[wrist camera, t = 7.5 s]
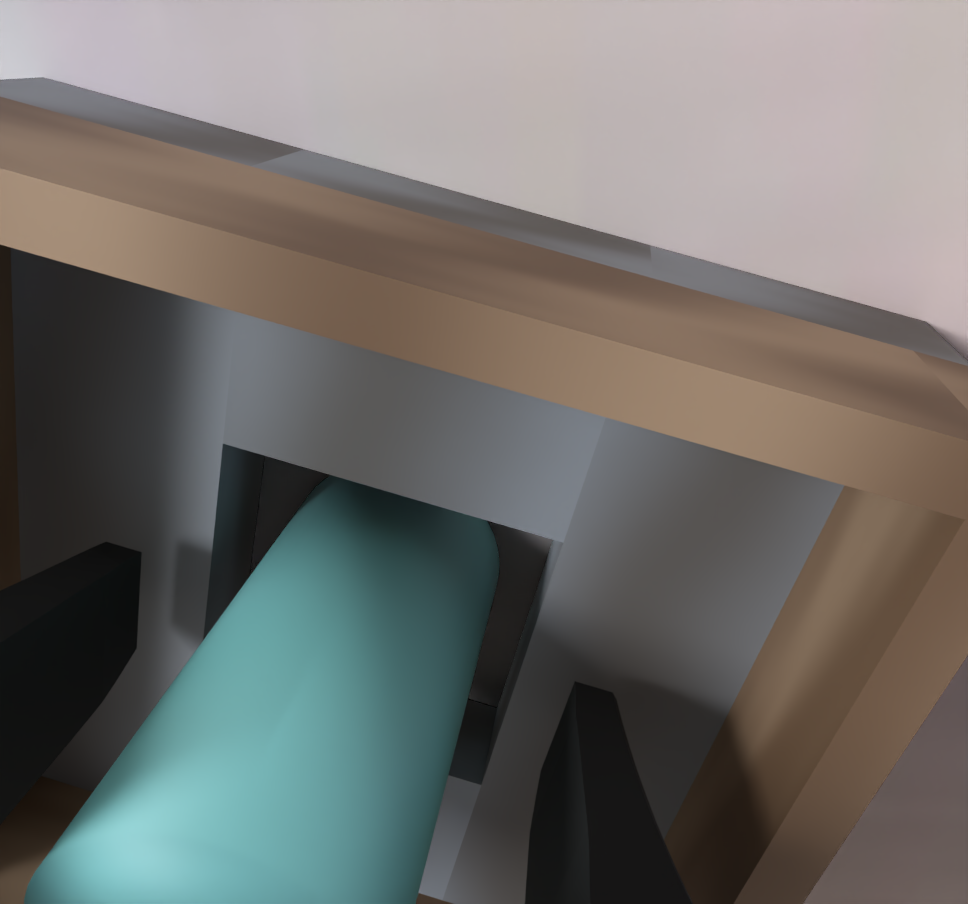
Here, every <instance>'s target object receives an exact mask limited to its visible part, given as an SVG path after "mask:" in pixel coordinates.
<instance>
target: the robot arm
mask: <svg viewBox="0 0 968 904" xmlns="http://www.w3.org/2000/svg"><path fill="white" fill-rule="evenodd" d="M141 556H142V552H140V551H136V550H133V549H130V548H126V547H123V546H119V545H116V544H113V543H109V542H104V543H102V544H99V545H97V546H95V547H92V548H90V549H88V550H86V551H84V552H82V553H79V554H77V555H75V556H73V557H71V558H69V559H67V560H65V561H62V562H60V563H58V564H56V565H54V566H52V567H50V568H48V569H46V570H44V571H41V572H39V573H37V574H35V575H33V576H31V577H29V578H26V579H24V580H22V581H20V582H18V583H16V584H13V585H11V586H9V587H7V588H5V589H2V590H0V825H1V824H2V822H3V821H4V820H5V819H6V817H7V816H8V815H9V814H10V813H11V811H12V810H13V809H14V808H15V807H16V805H17V804H18V803H19V802H20V801H21V799H22V798H23V797H24V796H25V795H26V794H27V792H28V791H29V790H30V789H31V788H32V786H33V785H34V784H35V783H36V782H37V780H38V779H39V778H40V777H41V776H42V774H43V773H44V772H45V771H46V770H47V768H48V767H49V766H50V765H51V764H52V763H53V761H54V760H55V759H56V758H57V757H58V755H59V754H60V753H61V752H62V751H63V749H64V748H65V747H66V746H67V745H68V743H69V742H70V741H71V740H72V739H73V737H74V736H75V735H76V734H77V733H78V731H79V730H80V729H81V728H82V727H83V725H84V724H85V723H86V722H87V720H88V719H89V718H90V717H91V716H92V714H93V713H94V712H95V711H96V709H97V708H98V707H99V706H100V705H101V703H102V702H103V700H104V699H105V697H106V696H107V694H108V693H109V691H110V690H111V688H112V687H113V685H114V684H115V682H116V681H117V679H118V678H119V676H120V675H121V673H122V671H123V670H124V668H125V666H126V665H127V663H128V662H129V660H130V658H131V657H132V655H133V654H134V652H135V650H136V649H137V633H138V614H139V595H140V575H141ZM525 904H693V902H692V900H691V898H690V896H689V894H688V892H687V890H686V888H685V886H684V884H683V882H682V880H681V877H680V875H679V873H678V871H677V869H676V867H675V864H674V862H673V860H672V858H671V855H670V853H669V851H668V848H667V846H666V844H665V842H664V839H663V837H662V834H661V832H660V829H659V827H658V825H657V822H656V820H655V817H654V814H653V812H652V809H651V806H650V804H649V801H648V798H647V796H646V793H645V790H644V788H643V785H642V782H641V779H640V777H639V774H638V771H637V768H636V765H635V762H634V759H633V755H632V752H631V749H630V746H629V743H628V740H627V736H626V733H625V729H624V726H623V722H622V718H621V715H620V711H619V707H618V703H617V699H616V698H615V696H614V694H613V692H610V691H606V690H603V689H599V688H596V687H593V686H589V685H586V684H583V683H579V682H576V681H575V682H574V685H573V687H572V690H571V693H570V695H569V698H568V701H567V703H566V706H565V708H564V711H563V714H562V716H561V719H560V721H559V724H558V727H557V729H556V732H555V735H554V737H553V740H552V742H551V745H550V748H549V750H548V753H547V755H546V758H545V761H544V763H543V766H542V769H541V772H540V777H539V783H538V788H537V794H536V799H535V805H534V811H533V816H532V822H531V828H530V836H529V849H528V864H527V878H526V894H525Z"/></svg>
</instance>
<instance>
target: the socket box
mask: <svg viewBox="0 0 968 904" xmlns="http://www.w3.org/2000/svg"><path fill="white" fill-rule="evenodd" d="M264 456H267V457H271V458H274V459H278V460H281V461H285V462H288V463H291V464H295V465H298V466H302V467H305V468H309V469H312V470H315V471H319V472H322V473H326V474H329V475H333V476H336V477H339V478H343V479H346V480H350V481H353V482H357V483H360V484H363V485H367V486H370V487H374V488H377V489H381V490H384V491H387V492H391V493H394V494H398V495H401V496H405V497H408V498H411V499H415V500H418V501H422V502H425V503H429V504H432V505H435V506H439V507H442V508H446V509H449V510H453V511H456V512H459V513H463V514H466V515H470V516H473V517H477V518H480V519H483V520H487V521H490V522H494V523H497V524H501V525H504V526H507V527H511V528H514V529H518V530H521V531H525V532H528V533H531V534H535V535H538V536H542V537H545V538H549V539H552V540H553V541H552V544H551V547H550V550H549V553H548V556H547V559H546V562H545V565H544V568H543V571H542V574H541V577H540V580H539V583H538V586H537V589H536V592H535V595H534V598H533V602H532V605H531V608H530V611H529V614H528V617H527V620H526V623H525V626H524V629H523V632H522V635H521V638H520V641H519V644H518V647H517V650H516V653H515V656H514V659H513V662H512V665H511V668H510V671H509V674H508V677H507V680H506V683H505V686H504V689H503V692H502V695H501V698H500V701H499V704H498V707H497V708H494V707H491V706H488V705H484V704H481V703H478V702H474V701H471V700H467V704H466V708H465V712H464V716H463V720H462V724H461V728H460V732H459V735H458V739H457V743H456V747H455V751H454V755H453V759H452V763H451V767H450V771H449V775H448V779H447V782H446V786H445V790H444V794H443V798H442V802H441V806H440V810H439V814H438V818H437V822H436V826H435V829H434V833H433V837H432V841H431V845H430V849H429V853H428V857H427V861H426V865H425V869H424V873H423V877H422V880H421V884H420V888H419V892H418V896H417V900H416V904H525V894H526V878H527V864H528V849H529V836H530V828H531V822H532V816H533V811H534V805H535V799H536V794H537V788H538V783H539V777H540V772H541V769H542V766H543V763H544V761H545V758H546V755H547V753H548V750H549V748H550V745H551V742H552V740H553V737H554V735H555V732H556V729H557V727H558V724H559V721H560V719H561V716H562V714H563V711H564V708H565V706H566V703H567V701H568V698H569V695H570V693H571V690H572V687H573V685H574V682H575V681H576V682H579V683H583V684H586V685H589V686H593V687H596V688H599V689H603V690H606V691H610V692H613V694H614V696H615V698H616V699H617V703H618V707H619V711H620V715H621V718H622V722H623V726H624V729H625V733H626V736H627V740H628V743H629V746H630V749H631V752H632V755H633V759H634V762H635V765H636V768H637V771H638V774H639V777H640V779H641V782H642V785H643V788H644V790H645V793H646V796H647V798H648V801H649V804H650V806H651V809H652V812H653V814H654V817H655V820H656V822H657V825H658V827H659V829H660V832H661V834H662V837H663V839H664V842H665V844H666V846H667V848H668V851H669V853H670V855H671V858H672V860H673V862H674V864H675V867H676V869H677V871H678V873H679V875H680V877H681V880H682V882H683V884H684V886H685V888H686V890H687V892H688V894H689V896H690V898H691V900H692V902H693V904H803V902H804V901H805V899H806V898H807V896H808V895H809V893H810V892H811V890H812V889H813V887H814V886H815V884H816V883H817V881H818V880H819V878H820V877H821V875H822V874H823V872H824V871H825V869H826V868H827V866H828V865H829V863H830V862H831V860H832V859H833V857H834V856H835V854H836V853H837V851H838V850H839V848H840V847H841V845H842V844H843V842H844V841H845V839H846V838H847V836H848V835H849V833H850V832H851V830H852V829H853V827H854V826H855V824H856V823H857V821H858V820H859V818H860V817H861V815H862V814H863V812H864V811H865V809H866V808H867V806H868V805H869V803H870V802H871V800H872V799H873V797H874V796H875V794H876V793H877V791H878V790H879V788H880V787H881V785H882V784H883V782H884V781H885V779H886V778H887V776H888V775H889V773H890V772H891V770H892V769H893V767H894V766H895V764H896V762H897V761H898V759H899V758H900V756H901V755H902V753H903V752H904V750H905V749H906V747H907V746H908V744H909V743H910V741H911V740H912V738H913V737H914V735H915V734H916V732H917V731H918V729H919V728H920V726H921V725H922V723H923V722H924V720H925V719H926V717H927V716H928V714H929V713H930V711H931V710H932V708H933V707H934V705H935V704H936V702H937V701H938V699H939V698H940V696H941V695H942V693H943V692H944V690H945V689H946V687H947V686H948V684H949V683H950V681H951V680H952V678H953V677H954V675H955V674H956V672H957V671H958V669H959V668H960V666H961V665H962V663H963V662H964V660H965V659H966V657H967V656H968V361H967V360H966V359H965V358H964V357H962V356H961V355H960V354H959V353H958V352H957V351H956V350H955V349H954V348H953V347H952V346H951V345H950V344H949V343H948V342H947V341H946V340H944V339H943V338H942V337H941V336H940V335H939V334H938V333H937V332H936V331H935V330H934V329H933V328H932V327H931V326H930V325H929V324H928V323H926V322H925V321H921V320H917V319H914V318H910V317H906V316H903V315H899V314H896V313H892V312H888V311H885V310H881V309H878V308H874V307H870V306H867V305H863V304H860V303H856V302H852V301H849V300H845V299H841V298H838V297H834V296H831V295H827V294H823V293H820V292H816V291H813V290H809V289H805V288H802V287H798V286H795V285H791V284H787V283H784V282H780V281H776V280H773V279H769V278H766V277H762V276H758V275H755V274H751V273H748V272H744V271H740V270H737V269H733V268H730V267H726V266H722V265H719V264H715V263H711V262H708V261H704V260H701V259H697V258H693V257H690V256H686V255H683V254H679V253H675V252H672V251H668V250H664V249H661V248H657V247H654V246H650V245H646V244H643V243H639V242H636V241H632V240H628V239H625V238H621V237H618V236H614V235H610V234H607V233H603V232H599V231H596V230H592V229H589V228H585V227H581V226H578V225H574V224H571V223H567V222H563V221H560V220H556V219H553V218H549V217H545V216H542V215H538V214H534V213H531V212H527V211H524V210H520V209H516V208H513V207H509V206H506V205H502V204H498V203H495V202H491V201H488V200H484V199H480V198H477V197H473V196H469V195H466V194H462V193H459V192H455V191H451V190H448V189H444V188H441V187H437V186H433V185H430V184H426V183H423V182H419V181H415V180H412V179H408V178H404V177H401V176H397V175H394V174H390V173H386V172H383V171H379V170H376V169H372V168H368V167H365V166H361V165H358V164H354V163H350V162H347V161H343V160H339V159H336V158H332V157H329V156H325V155H321V154H318V153H314V152H311V151H307V150H303V149H300V148H296V147H293V146H289V145H285V144H282V143H278V142H274V141H271V140H267V139H264V138H260V137H256V136H253V135H249V134H246V133H242V132H238V131H235V130H231V129H228V128H224V127H220V126H217V125H213V124H209V123H206V122H202V121H199V120H195V119H191V118H188V117H184V116H181V115H177V114H173V113H170V112H166V111H163V110H159V109H155V108H152V107H148V106H144V105H141V104H137V103H134V102H130V101H126V100H123V99H119V98H116V97H112V96H108V95H105V94H101V93H98V92H94V91H90V90H87V89H83V88H79V87H76V86H72V85H69V84H65V83H61V82H58V81H54V80H51V79H47V78H25V79H6V80H0V590H2V589H5V588H7V587H9V586H11V585H13V584H16V583H18V582H20V581H22V580H24V579H26V578H29V577H31V576H33V575H35V574H37V573H39V572H41V571H44V570H46V569H48V568H50V567H52V566H54V565H56V564H58V563H60V562H62V561H65V560H67V559H69V558H71V557H73V556H75V555H77V554H79V553H82V552H84V551H86V550H88V549H90V548H92V547H95V546H97V545H99V544H102V543H104V542H109V543H113V544H116V545H119V546H123V547H126V548H130V549H133V550H136V551H140V552H142V556H141V575H140V595H139V614H138V633H137V649H136V650H135V652H134V654H133V655H132V657H131V658H130V660H129V662H128V663H127V665H126V666H125V668H124V670H123V671H122V673H121V675H120V676H119V678H118V679H117V681H116V682H115V684H114V685H113V687H112V688H111V690H110V691H109V693H108V694H107V696H106V697H105V699H104V700H103V702H102V703H101V705H100V706H99V707H98V708H97V709H96V711H95V712H94V713H93V714H92V716H91V717H90V718H89V719H88V720H87V722H86V723H85V724H84V725H83V727H82V728H81V729H80V730H79V731H78V733H77V734H76V735H75V736H74V737H73V739H72V740H71V741H70V742H69V743H68V745H67V746H66V747H65V748H64V749H63V751H62V752H61V753H60V754H59V755H58V757H57V758H56V759H55V760H54V761H53V763H52V764H51V765H50V766H49V767H48V768H47V770H46V771H45V772H44V773H43V774H42V776H41V777H40V778H39V779H38V780H37V782H36V783H35V784H34V785H33V786H32V788H31V789H30V790H29V791H28V792H27V794H26V795H25V796H24V797H23V798H22V799H21V801H20V802H19V803H18V804H17V805H16V807H15V808H14V809H13V810H12V811H11V813H10V814H9V815H8V816H7V817H6V819H5V820H4V821H3V822H2V824H1V825H0V904H24V898H25V894H26V890H27V886H28V884H29V882H30V880H31V878H32V876H33V874H34V873H35V871H36V870H37V868H38V867H39V866H40V864H41V863H42V861H43V860H44V859H45V857H46V856H47V855H48V853H49V852H50V850H51V849H52V848H53V846H54V845H55V844H56V842H57V841H58V839H59V838H60V837H61V835H62V834H63V833H64V831H65V830H66V828H67V827H68V826H69V824H70V823H71V822H72V820H73V819H74V817H75V816H76V815H77V813H78V812H79V811H80V809H81V808H82V806H83V805H84V804H85V802H86V801H87V799H88V798H89V797H90V795H91V794H92V793H93V791H94V790H95V788H96V787H97V786H98V784H99V783H100V782H101V780H102V779H103V777H104V776H105V775H106V773H107V772H108V771H109V769H110V768H111V766H112V765H113V764H114V762H115V761H116V760H117V758H118V757H119V755H120V754H121V753H122V751H123V750H124V749H125V747H126V746H127V744H128V743H129V742H130V740H131V739H132V738H133V736H134V735H135V733H136V732H137V731H138V729H139V728H140V727H141V725H142V724H143V722H144V721H145V720H146V718H147V717H148V716H149V714H150V713H151V711H152V710H153V709H154V707H155V706H156V705H157V703H158V702H159V700H160V699H161V698H162V696H163V695H164V694H165V692H166V691H167V689H168V688H169V687H170V685H171V684H172V683H173V681H174V680H175V678H176V677H177V676H178V674H179V673H180V672H181V670H182V669H183V667H184V666H185V665H186V663H187V662H188V661H189V659H190V658H191V656H192V655H193V654H194V652H195V651H196V650H197V648H198V647H199V645H200V644H201V643H202V641H203V640H204V639H205V637H206V636H207V634H208V633H209V632H210V630H211V629H212V628H213V626H214V625H215V623H216V622H217V621H218V619H219V618H220V617H221V615H222V614H223V612H224V611H225V610H226V608H227V607H228V605H229V604H230V603H231V601H232V600H233V599H234V597H235V596H236V594H237V593H238V592H239V590H240V589H241V588H242V586H243V585H244V583H245V582H246V581H247V579H248V578H249V574H250V566H251V558H252V550H253V543H254V535H255V527H256V519H257V511H258V503H259V496H260V488H261V480H262V472H263V464H264Z"/></svg>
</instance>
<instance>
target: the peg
mask: <svg viewBox="0 0 968 904" xmlns="http://www.w3.org/2000/svg"><path fill="white" fill-rule="evenodd" d="M499 565H500V561H499V552H498V547H497V543H496V540H495V537H494V534H493V532H492V529H491V527H490V525H489V523H488V522H487V520H483V519H480V518H477V517H473V516H470V515H466V514H463V513H459V512H456V511H453V510H449V509H446V508H442V507H439V506H435V505H432V504H429V503H425V502H422V501H418V500H415V499H411V498H408V497H405V496H401V495H398V494H394V493H391V492H387V491H384V490H381V489H377V488H374V487H370V486H367V485H363V484H360V483H357V482H353V481H350V480H346V479H343V478H339V477H336V476H333V475H331V476H329V477H328V478H326V479H324V480H323V481H322V482H321V483H320V484H319V485H318V486H316V487H315V488H314V490H313V491H312V492H311V493H310V494H309V496H308V497H307V498H306V500H305V501H304V502H303V504H302V505H301V506H300V508H299V509H298V511H297V512H296V513H295V515H294V516H293V517H292V519H291V520H290V522H289V523H288V524H287V526H286V527H285V528H284V530H283V531H282V533H281V534H280V535H279V537H278V538H277V539H276V541H275V542H274V544H273V545H272V546H271V548H270V549H269V550H268V552H267V553H266V555H265V556H264V557H263V559H262V560H261V561H260V563H259V564H258V566H257V567H256V568H255V570H254V571H253V572H252V574H251V575H250V577H249V578H248V579H247V581H246V582H245V583H244V585H243V586H242V588H241V589H240V590H239V592H238V593H237V594H236V596H235V597H234V599H233V600H232V601H231V603H230V604H229V605H228V607H227V608H226V610H225V611H224V612H223V614H222V615H221V617H220V618H219V619H218V621H217V622H216V623H215V625H214V626H213V628H212V629H211V630H210V632H209V633H208V634H207V636H206V637H205V639H204V640H203V641H202V643H201V644H200V645H199V647H198V648H197V650H196V651H195V652H194V654H193V655H192V656H191V658H190V659H189V661H188V662H187V663H186V665H185V666H184V667H183V669H182V670H181V672H180V673H179V674H178V676H177V677H176V678H175V680H174V681H173V683H172V684H171V685H170V687H169V688H168V689H167V691H166V692H165V694H164V695H163V696H162V698H161V699H160V700H159V702H158V703H157V705H156V706H155V707H154V709H153V710H152V711H151V713H150V714H149V716H148V717H147V718H146V720H145V721H144V722H143V724H142V725H141V727H140V728H139V729H138V731H137V732H136V733H135V735H134V736H133V738H132V739H131V740H130V742H129V743H128V744H127V746H126V747H125V749H124V750H123V751H122V753H121V754H120V755H119V757H118V758H117V760H116V761H115V762H114V764H113V765H112V766H111V768H110V769H109V771H108V772H107V773H106V775H105V776H104V777H103V779H102V780H101V782H100V783H99V784H98V786H97V787H96V788H95V790H94V791H93V793H92V794H91V795H90V797H89V798H88V799H87V801H86V802H85V804H84V805H83V806H82V808H81V809H80V811H79V812H78V813H77V815H76V816H75V817H74V819H73V820H72V822H71V823H70V824H69V826H68V827H67V828H66V830H65V831H64V833H63V834H62V835H61V837H60V838H59V839H58V841H57V842H56V844H55V845H54V846H53V848H52V849H51V850H50V852H49V853H48V855H47V856H46V857H45V859H44V860H43V861H42V863H41V864H40V866H39V867H38V868H37V870H36V871H35V873H34V874H33V876H32V878H31V880H30V882H29V884H28V886H27V890H26V894H25V898H24V904H416V900H417V896H418V892H419V888H420V884H421V880H422V877H423V873H424V869H425V865H426V861H427V857H428V853H429V849H430V845H431V841H432V837H433V833H434V829H435V826H436V822H437V818H438V814H439V810H440V806H441V802H442V798H443V794H444V790H445V786H446V782H447V779H448V775H449V771H450V767H451V763H452V759H453V755H454V751H455V747H456V743H457V739H458V735H459V732H460V728H461V724H462V720H463V716H464V712H465V708H466V704H467V700H468V696H469V692H470V688H471V684H472V681H473V677H474V673H475V669H476V665H477V661H478V657H479V653H480V649H481V645H482V641H483V637H484V634H485V630H486V626H487V622H488V618H489V614H490V610H491V606H492V602H493V598H494V594H495V590H496V587H497V582H498V577H499Z"/></svg>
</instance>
